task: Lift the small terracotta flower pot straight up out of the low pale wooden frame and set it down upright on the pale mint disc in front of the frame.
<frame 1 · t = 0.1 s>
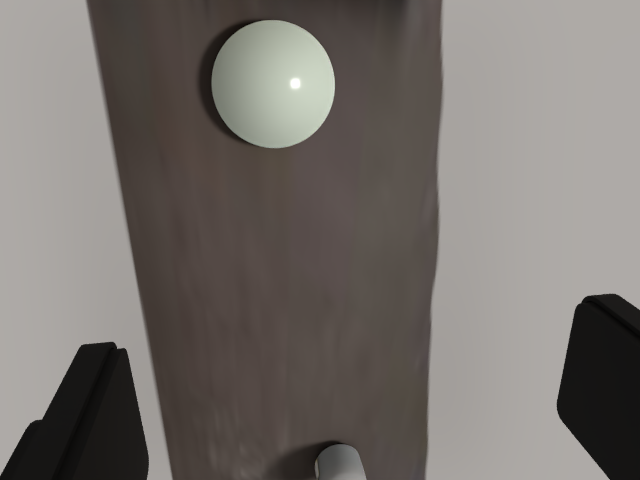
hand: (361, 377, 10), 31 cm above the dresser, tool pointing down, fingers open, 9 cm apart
reed diffuser: (344, 457, 53), on the dresser
pale mint disc: (273, 85, 38), on the dresser
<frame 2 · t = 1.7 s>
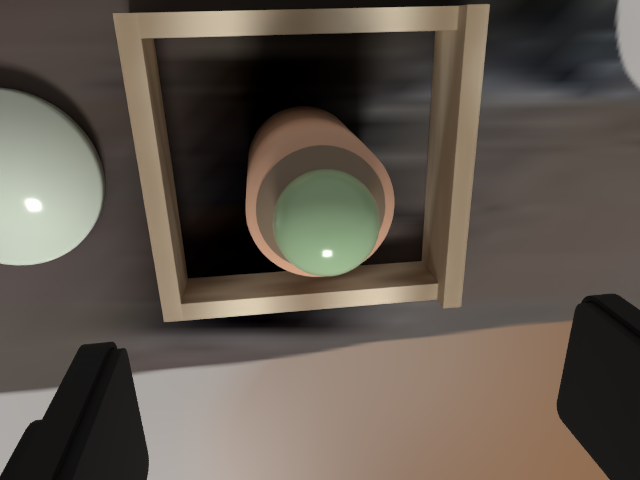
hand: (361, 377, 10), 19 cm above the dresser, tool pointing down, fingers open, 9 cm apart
terracotta pot: (303, 162, 27), resting in wooden frame
wooden frame: (303, 162, 27), on the dresser
pale mint disc: (13, 177, 26), on the dresser
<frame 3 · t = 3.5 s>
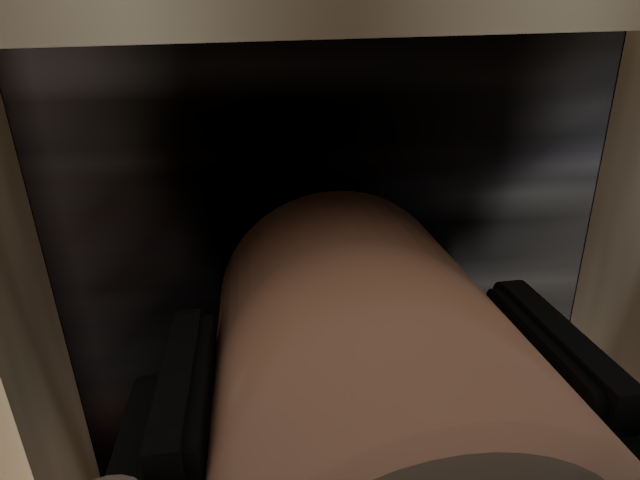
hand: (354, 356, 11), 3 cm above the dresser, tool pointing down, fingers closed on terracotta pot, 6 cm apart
terracotta pot: (334, 298, 13), resting in wooden frame, touching gripper
wooden frame: (335, 299, 13), on the dresser
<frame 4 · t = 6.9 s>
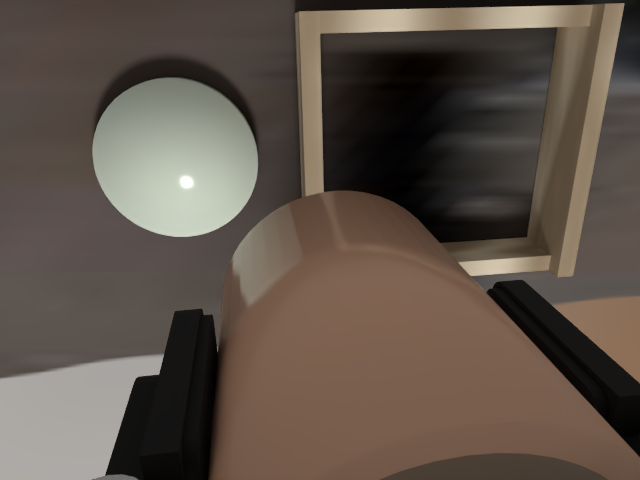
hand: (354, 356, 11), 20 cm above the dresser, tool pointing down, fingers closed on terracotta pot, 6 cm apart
terracotta pot: (336, 298, 13), point 18 cm above the dresser, touching gripper
wooden frame: (431, 145, 31), on the dresser
pale mint disc: (179, 158, 29), on the dresser
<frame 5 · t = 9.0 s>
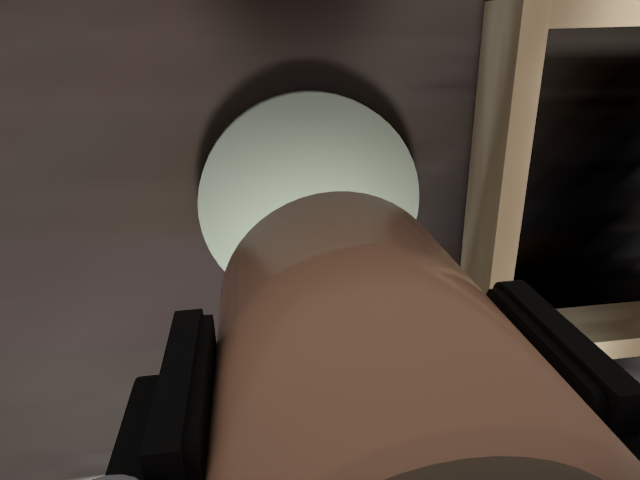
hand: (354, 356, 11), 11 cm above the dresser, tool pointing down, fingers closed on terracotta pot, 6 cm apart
terracotta pot: (335, 299, 13), point 9 cm above the dresser, touching gripper
wooden frame: (635, 179, 23), on the dresser
pale mint disc: (308, 200, 21), on the dresser
when the fingers open (5 cm above the dresser, at t = 10.6 s): terracotta pot drops 1 cm, resting on pale mint disc.
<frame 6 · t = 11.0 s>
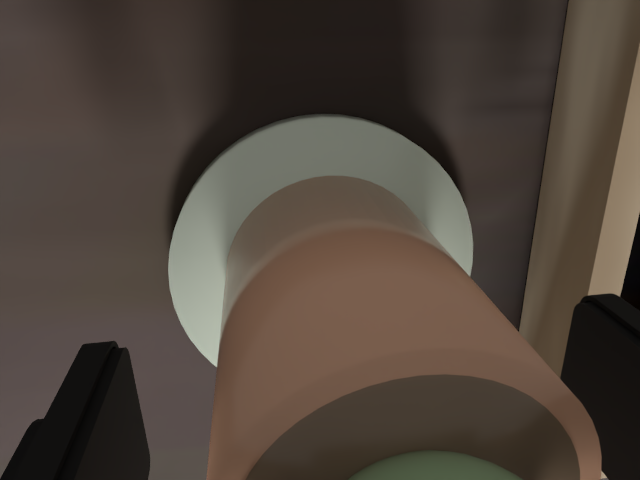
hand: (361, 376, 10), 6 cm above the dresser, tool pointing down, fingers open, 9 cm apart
terracotta pot: (329, 274, 15), point 1 cm above the dresser, touching pale mint disc
pale mint disc: (321, 260, 16), on the dresser
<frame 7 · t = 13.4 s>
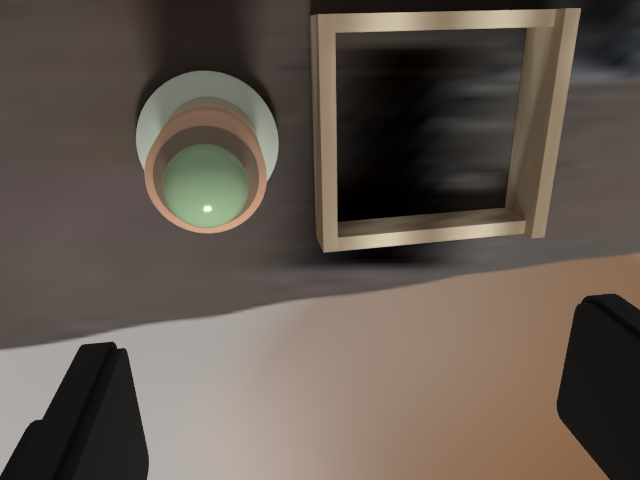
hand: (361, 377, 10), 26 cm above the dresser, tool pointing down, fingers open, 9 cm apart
terracotta pot: (210, 144, 33), point 1 cm above the dresser, touching pale mint disc
wooden frame: (424, 128, 36), on the dresser
pale mint disc: (209, 141, 33), on the dresser
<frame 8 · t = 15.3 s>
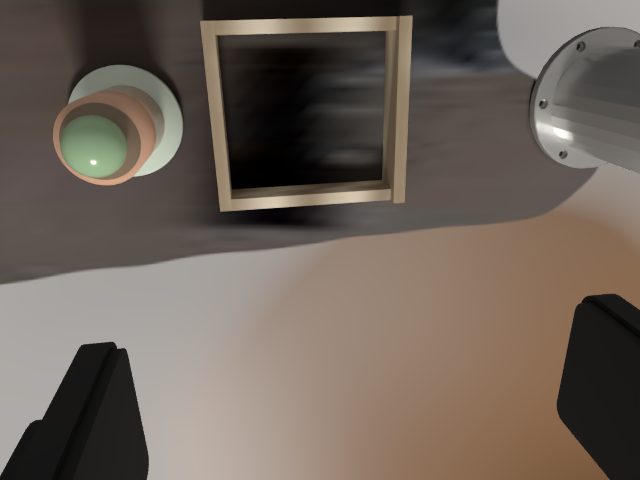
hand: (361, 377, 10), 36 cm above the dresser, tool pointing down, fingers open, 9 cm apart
terracotta pot: (126, 123, 41), point 1 cm above the dresser, touching pale mint disc
wooden frame: (305, 113, 44), on the dresser
pale mint disc: (128, 121, 42), on the dresser
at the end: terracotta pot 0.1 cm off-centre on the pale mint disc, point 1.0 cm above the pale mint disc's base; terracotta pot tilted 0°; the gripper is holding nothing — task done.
